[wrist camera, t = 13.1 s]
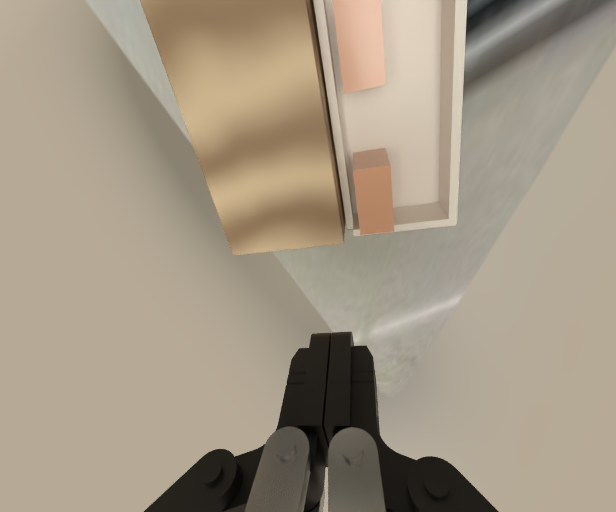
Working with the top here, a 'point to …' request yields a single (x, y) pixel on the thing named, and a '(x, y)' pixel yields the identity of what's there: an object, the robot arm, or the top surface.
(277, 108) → the platform
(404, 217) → the bin
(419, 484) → the robot arm
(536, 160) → the top surface
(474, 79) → the top surface
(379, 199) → the tile outer
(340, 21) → the tile inner
